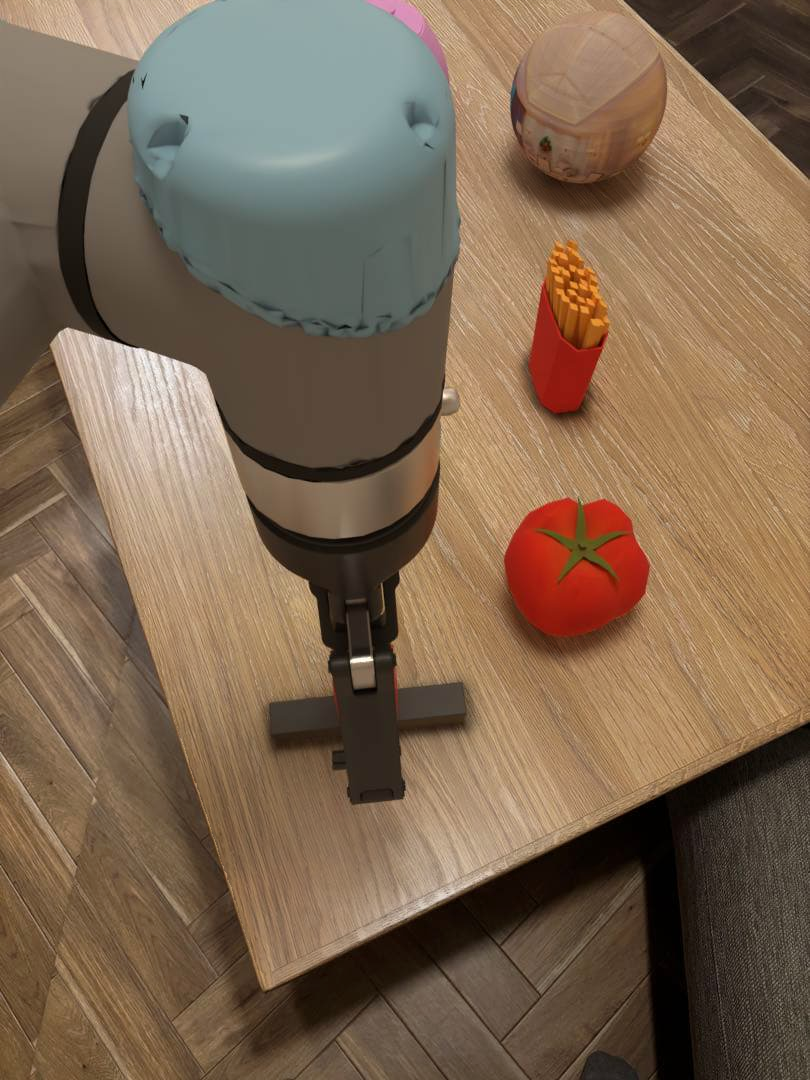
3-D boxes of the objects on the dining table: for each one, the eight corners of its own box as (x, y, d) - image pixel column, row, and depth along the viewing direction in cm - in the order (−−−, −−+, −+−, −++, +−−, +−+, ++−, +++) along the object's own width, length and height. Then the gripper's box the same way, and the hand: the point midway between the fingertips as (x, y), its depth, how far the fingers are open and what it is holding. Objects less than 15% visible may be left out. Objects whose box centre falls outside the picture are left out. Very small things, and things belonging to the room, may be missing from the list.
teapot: (475, 171, 91) (486, 61, 80) (344, 196, 89) (336, 87, 78) (421, 54, 99) (425, -60, 88) (301, 74, 97) (289, -39, 87)
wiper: (465, 726, 64) (477, 680, 54) (274, 747, 63) (252, 704, 53) (459, 687, 65) (470, 635, 55) (273, 707, 64) (250, 658, 54)
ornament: (614, 107, 95) (649, -35, 82) (666, 201, 89) (714, 63, 75) (484, 130, 93) (498, -12, 80) (528, 227, 87) (552, 90, 74)
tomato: (480, 624, 67) (491, 577, 60) (528, 511, 72) (544, 455, 64) (609, 677, 65) (638, 636, 58) (650, 558, 70) (682, 505, 62)
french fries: (592, 416, 76) (626, 316, 65) (545, 424, 76) (571, 324, 64) (563, 337, 80) (591, 228, 69) (519, 343, 80) (539, 235, 68)
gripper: (492, 783, 27) (456, 867, 46) (403, 212, 38) (404, 468, 57) (249, 811, 26) (314, 884, 45) (232, 226, 38) (290, 479, 57)
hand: (364, 652), depth 51 cm, fingers open, 13 cm apart
